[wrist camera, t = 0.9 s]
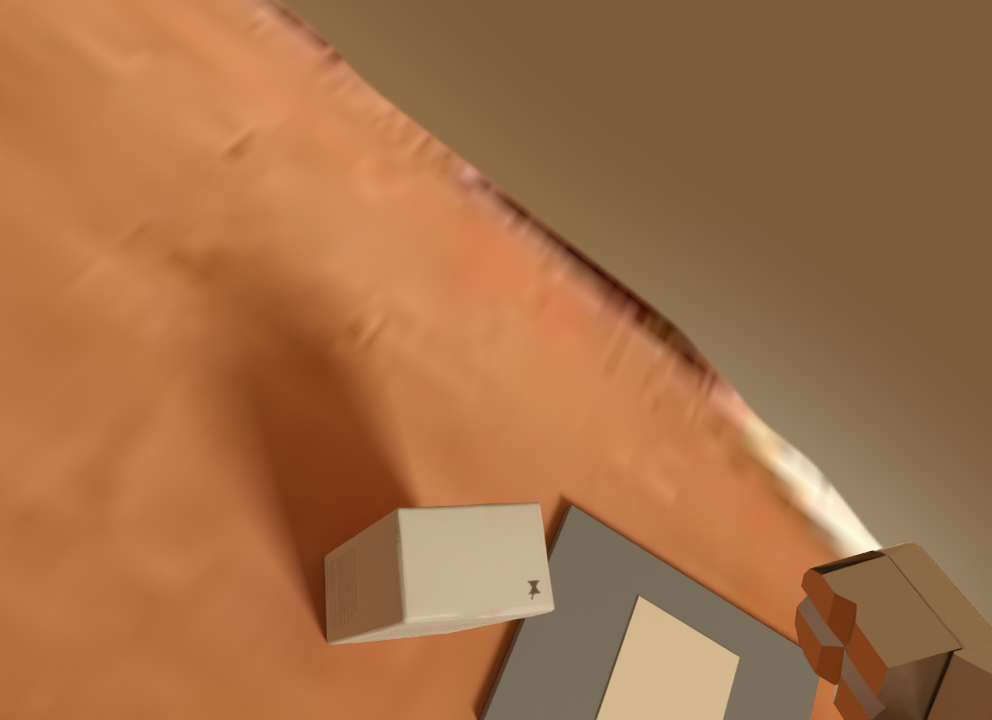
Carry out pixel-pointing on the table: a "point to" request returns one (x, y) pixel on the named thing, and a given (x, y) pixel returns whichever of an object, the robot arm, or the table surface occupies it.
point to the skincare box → (438, 572)
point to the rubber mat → (642, 644)
